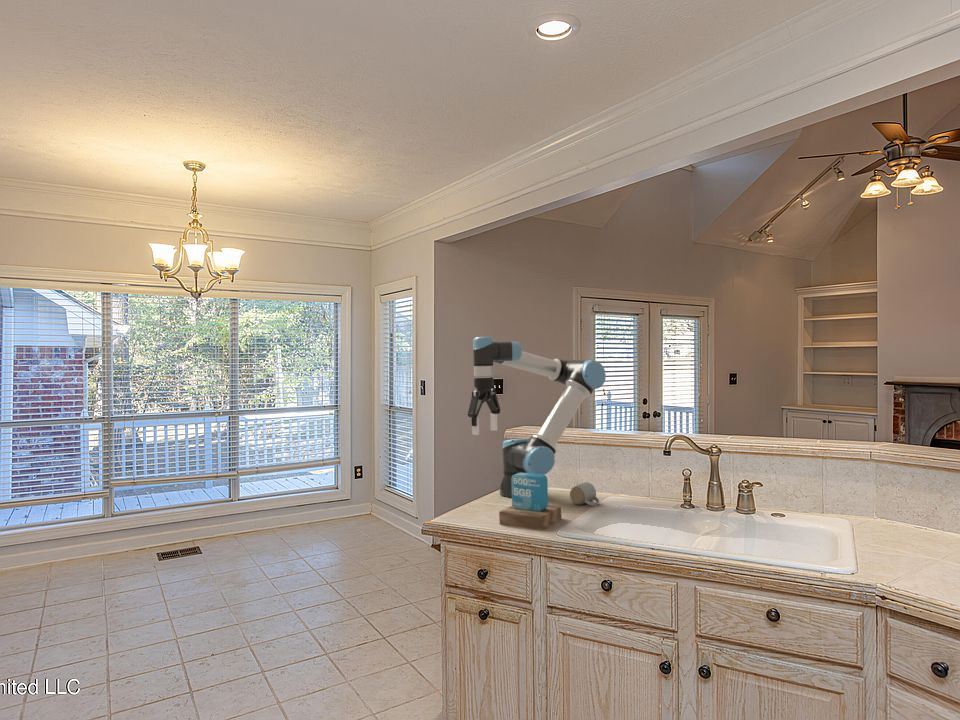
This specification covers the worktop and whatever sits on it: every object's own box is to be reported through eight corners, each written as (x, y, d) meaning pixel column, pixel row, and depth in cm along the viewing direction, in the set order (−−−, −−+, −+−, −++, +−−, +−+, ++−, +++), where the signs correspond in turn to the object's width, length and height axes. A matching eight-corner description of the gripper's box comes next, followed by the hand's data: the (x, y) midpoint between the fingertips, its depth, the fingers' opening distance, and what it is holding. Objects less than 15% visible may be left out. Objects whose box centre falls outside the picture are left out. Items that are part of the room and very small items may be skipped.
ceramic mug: (568, 503, 235) (568, 484, 235) (580, 499, 241) (580, 480, 241) (592, 508, 228) (591, 488, 228) (603, 504, 234) (603, 484, 234)
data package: (511, 508, 213) (511, 474, 213) (517, 505, 217) (517, 471, 217) (542, 512, 207) (541, 477, 207) (548, 509, 211) (547, 474, 211)
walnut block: (521, 515, 223) (520, 501, 223) (561, 520, 214) (561, 506, 214) (499, 526, 209) (499, 511, 209) (541, 532, 201) (541, 517, 201)
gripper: (491, 375, 245) (493, 428, 245) (457, 378, 224) (458, 436, 224) (508, 375, 241) (509, 429, 242) (474, 378, 220) (476, 437, 220)
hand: (485, 432), depth 233 cm, fingers open, 13 cm apart
